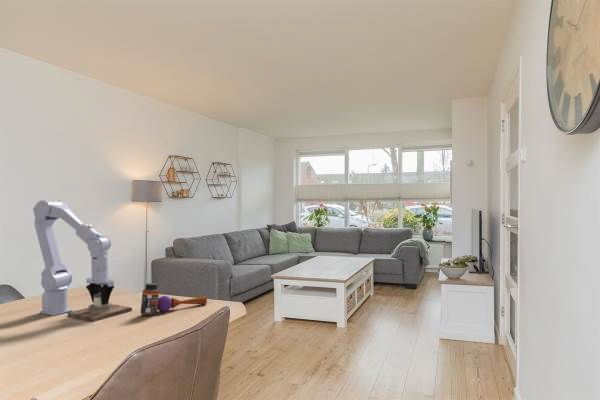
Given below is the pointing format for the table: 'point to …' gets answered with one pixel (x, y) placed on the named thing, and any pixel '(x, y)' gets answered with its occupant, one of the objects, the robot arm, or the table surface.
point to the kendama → (177, 302)
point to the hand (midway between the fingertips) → (100, 303)
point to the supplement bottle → (150, 299)
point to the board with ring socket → (99, 312)
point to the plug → (98, 301)
